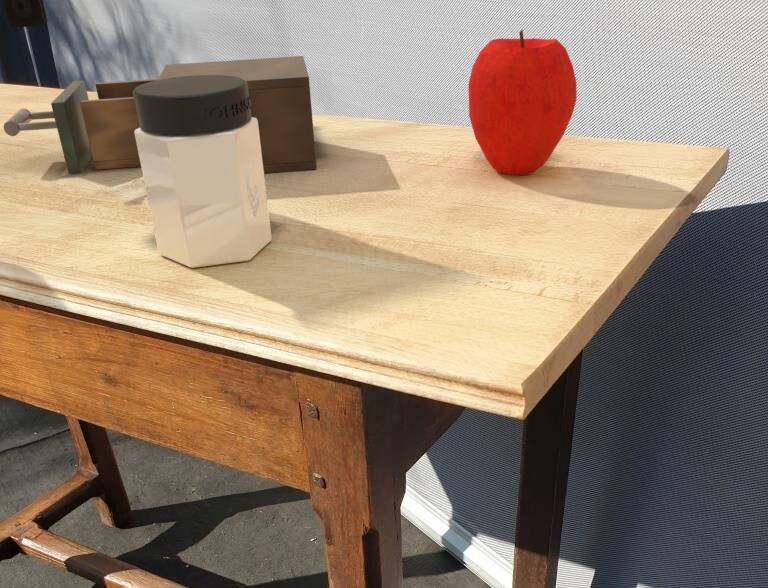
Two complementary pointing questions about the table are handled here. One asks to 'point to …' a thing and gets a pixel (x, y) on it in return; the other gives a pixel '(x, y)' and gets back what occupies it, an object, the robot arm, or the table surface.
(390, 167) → the table surface
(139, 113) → the jar
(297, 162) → the cabinet
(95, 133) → the drawer
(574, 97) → the apple
